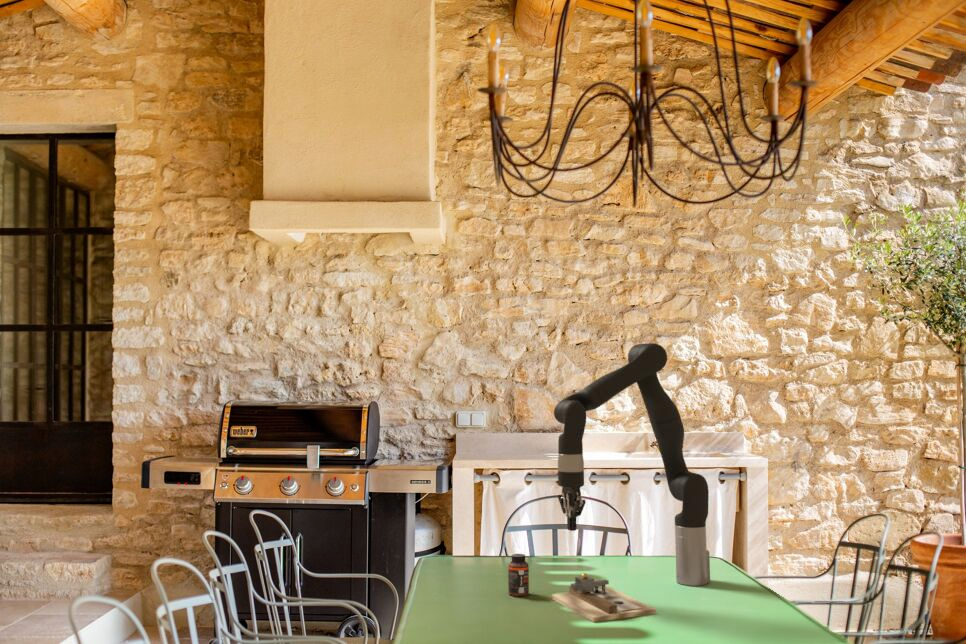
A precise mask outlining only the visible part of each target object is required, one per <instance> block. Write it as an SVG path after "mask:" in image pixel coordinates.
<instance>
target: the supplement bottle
mask: <svg viewBox="0 0 966 644" xmlns="http://www.w3.org/2000/svg"><path fill="white" fill-rule="evenodd" d="M510 558H511V560H510V562H509V563H508V566H507V567H508V568H507V569H508V573H507V574H508V576H507V577H508V581H507V582H508V583H507V584H508V594H509V595H510V596H511V597H518V598H519V597H520V598H521V597H526V596H528V595H529V594H530V591H529V590H530V588H529V587H530V586H529V585H530V582H529V581H530V575H529V572H530V570H529V563H528V562H527V561H526V555H525V554H524V553H514V554H511V557H510Z"/></svg>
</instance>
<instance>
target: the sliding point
mask: <svg viewBox="0 0 966 644" xmlns="http://www.w3.org/2000/svg"><path fill="white" fill-rule="evenodd" d="M609 582H610V581H609V579H597V580H596V579H595V578H593V577H591V576H589V575H588V573H581V576H575V577H574V583H575V590H577V591H579V592H581V593H586V592H594V589H595V587H594V586H598V585H602V586H601V588H602V594H603V595H605V588H606V585H609V584H610V583H609Z"/></svg>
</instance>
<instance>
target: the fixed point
mask: <svg viewBox="0 0 966 644" xmlns="http://www.w3.org/2000/svg"><path fill="white" fill-rule="evenodd" d="M570 586H571V588H572V589H574V590H575V582H574V583H572V582H571V583H570ZM599 587H601V588H602V585H598V586H594V589H595V592H598V589H599Z"/></svg>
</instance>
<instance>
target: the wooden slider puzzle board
mask: <svg viewBox="0 0 966 644" xmlns="http://www.w3.org/2000/svg"><path fill="white" fill-rule="evenodd" d="M550 598H551V600H553V601H554V602H557V603H558V604H560V605H562V606H563V607H565V608H567V609H569V610H570V611H572V612H574V613H576V614H578V615H579V616H581V617H583V618H584V619H587V620H588V621H590V622H592V623H596V622H604V621H605V622H606V620H607V621H611V620H612V621H613V620H619V619H627V618H634V617H641V616H648V615H656V614H657V609H656V608H654V607H653V606H650V605H648V604H646V603H643V602H641V601H639V600H637V599H635V598H633V597H631V596H628V595H626V594H624V593H622V592H620V591H617V590H615V589H614V588H611V587H605V595H603V594H602V587H601V588H598V592H595V588H594V592H586V593H581V592H579V591H577V590H574V589H572V588H571V585H569V586H568V592H562V593H554V594H551V595H550Z"/></svg>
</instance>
